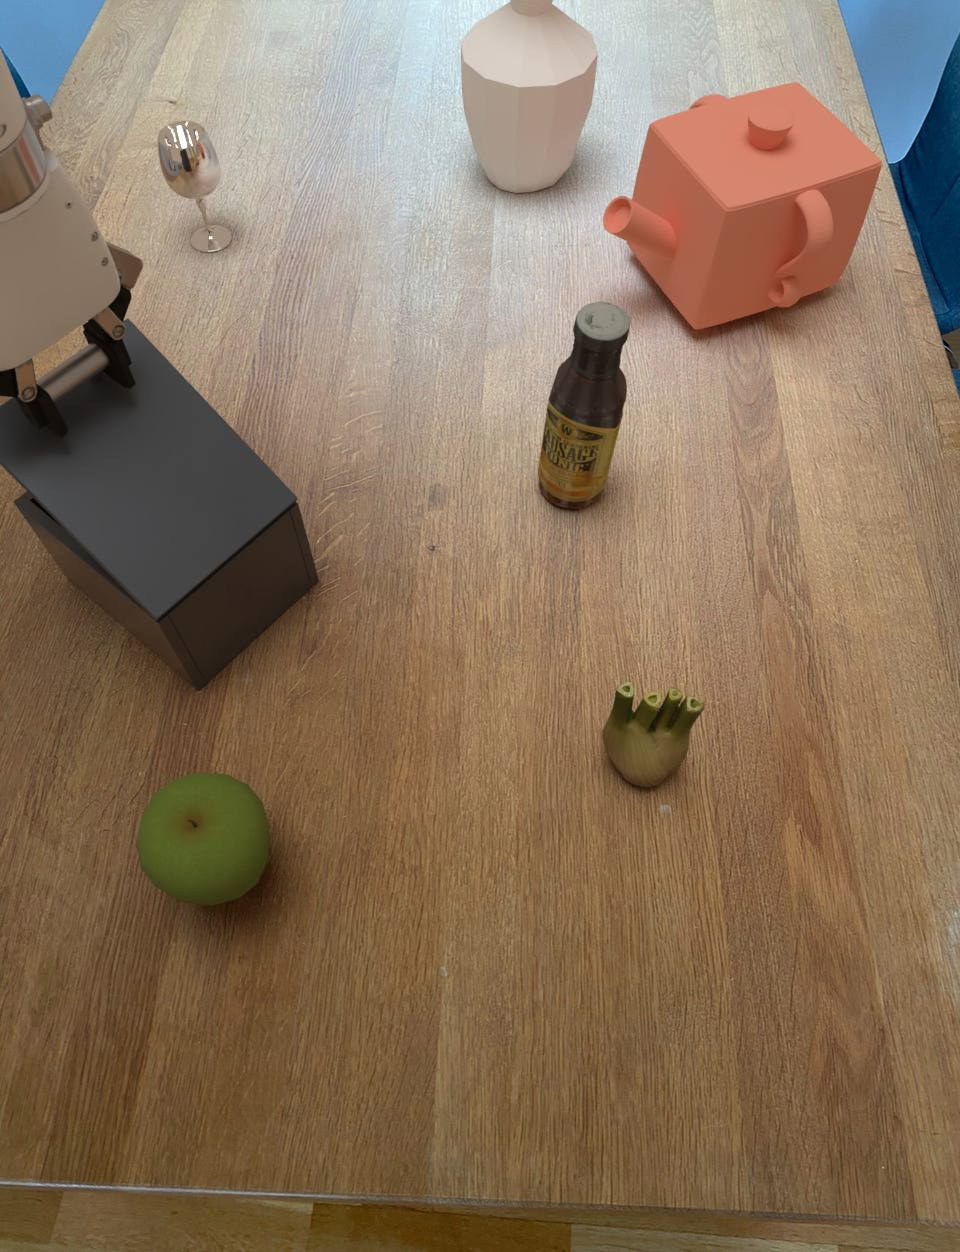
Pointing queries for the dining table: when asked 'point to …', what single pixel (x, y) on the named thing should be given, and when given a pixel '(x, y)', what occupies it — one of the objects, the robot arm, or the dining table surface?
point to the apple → (204, 838)
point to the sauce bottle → (585, 409)
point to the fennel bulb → (649, 734)
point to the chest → (197, 593)
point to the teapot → (746, 202)
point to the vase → (527, 92)
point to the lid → (142, 473)
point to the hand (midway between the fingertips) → (84, 399)
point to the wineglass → (193, 175)
